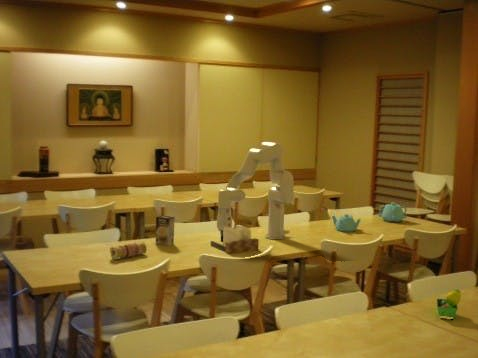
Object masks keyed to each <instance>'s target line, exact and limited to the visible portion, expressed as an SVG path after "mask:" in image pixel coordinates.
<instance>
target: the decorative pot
mask: <svg viewBox="0 0 478 358" xmlns="http://www.w3.org/2000/svg"><path fill="white" fill-rule="evenodd" d="M390 203H391V204H385V205H384V204H382V205H379V212H378V217H380V218H382V220H383V221H386V223H387V222H388V223H390V222H395V223H400V222H402V221H403V220H404V219H406V218H407V216H408V215H407V214H406V212H407V210H408V209H407V207H406V206H404V205H403V206H401V205H400V204H396V203H397V202H390ZM382 207H383V208H382ZM403 209H404V210H403ZM403 211H404V212H403Z"/></svg>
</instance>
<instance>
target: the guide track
mask: <svg viewBox="0 0 478 358" xmlns="http://www.w3.org/2000/svg"><path fill="white" fill-rule="evenodd" d="M259 241H260V240H259V239H258V238H256V237H255V238H254V237H253V238H251V239H246V240H239V241H229V242H226V246H225V245H224V244H223V243H220V242H219V243H218V242H216V241H214V240H211V241H210V246H211V247H213V246H214V247H213V248H216V249H219V250H221V251H222V252H225V253H226V254H227V255H230V254H237V253H244V252H253V251H259V244H260V243H259Z"/></svg>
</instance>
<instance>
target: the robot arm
mask: <svg viewBox="0 0 478 358" xmlns="http://www.w3.org/2000/svg"><path fill="white" fill-rule="evenodd" d="M259 147H260V148H254V147H253V148H250V149H249V150H248V152H247V153H246V156H245V158H244V160H243V162H242V165H241V166H240V168H239V170H238V171H237V172H236V173H235V174H234V175H233V176H232V177H231V178H230V179H229V181H228V182H227V185H226V187H225V188H223V189H222V188H221V189H219V190H218V202H217V203H218V204H217V218H216V228H217V230H218V231H219V234H220V242H221V243H223V229H224V227H230V228H233V216H232V202H233V203H241V202H243V201H244V200H245V199H246V193H245V191H244V190H242V189H240V188H239V186H241V184H242V183H243V182H244V181H247V180H248V179H251V178H252V177H253V176H254V174H255V173H256V171H257V168H258V166H259V164H262V165H263V164H267V163H269V180H270V182H271V184H273V185H275V186H272V187H271V188H269V189H268V192H267V200H268V221H267V222H268V223H267V224H268V225H267V233H266V234H265V238H266V239H268V240H284V239H286V237H287V236H286V235H288V234H290V233H291V232H290V230H285V229H284V227H285V225H284V224H285V206H284V205H289V204H291V203H292V201H293V200H294V193H295V192H294V190H295V189H294V185H295V184H294V177H293V173H292V172H290V171H289V170H285V165H284V164H285V163H284V159H283V158H284V157H283V154H284V152H285V148H284V145H283V144H281V143H280V142H276V141H275V142H274V141H264V142H261V144H260V146H259ZM276 185H277V186H276Z"/></svg>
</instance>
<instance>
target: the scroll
mask: <svg viewBox="0 0 478 358" xmlns="http://www.w3.org/2000/svg"><path fill="white" fill-rule="evenodd" d="M109 253H110V257H111V259H112V260H116V259H119V258H121V259H122V258H125V259H132V258H133V257H134V256H138V255H142V254H143V255H145V254H146V253H147V245H146V243H145V242H144V241H143V242H138V243H136V242H135V243H134V242H133V243H129V244H124V245H118V246H111V247H110V248H109Z"/></svg>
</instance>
